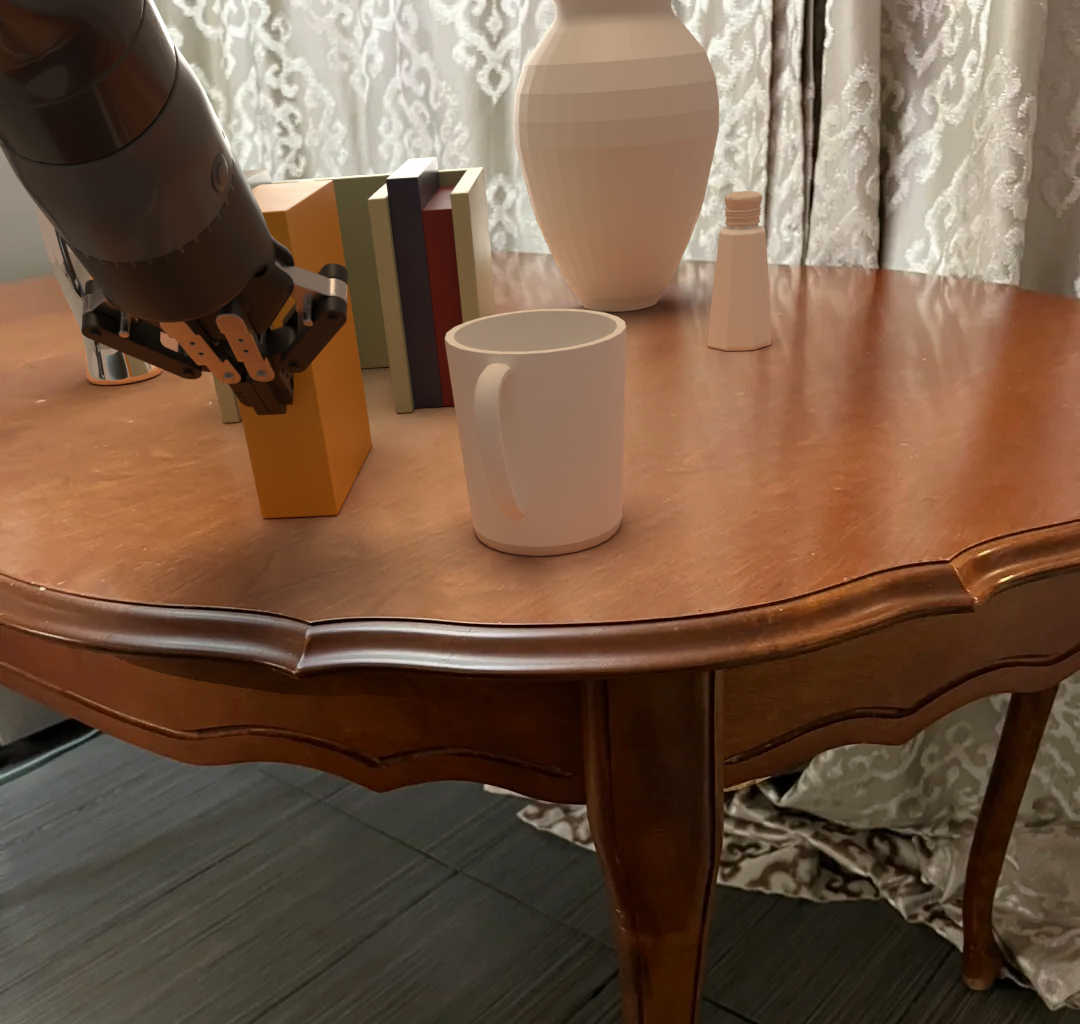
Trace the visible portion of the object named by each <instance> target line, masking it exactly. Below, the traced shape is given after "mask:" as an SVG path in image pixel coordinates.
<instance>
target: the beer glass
mask: <svg viewBox="0 0 1080 1024" xmlns="http://www.w3.org/2000/svg"><path fill="white" fill-rule="evenodd" d="M34 206H35V207H34V208H35V211H36V216H37V221H38V226H39V230H40V233H41V237H42V238H41V239H42V242H43V245H44V249H45V252H46V255H47V258H48V261H49V264H50V266H51V268H52V271H53V274H54V276H55V279H56V280H57V282H58V285H59V288H60V289H61V292H62V294H63V296H64V298H65V300H66V302H67V305H68V307H69V309H70V311H71V313H72V315H73V318H74V320H75V322H76V325H77V328H78V331H79V334H80V336H81V341H82V346H83V351H84V352H83V353H84V359H85V370H86V378H87V381H88V382H89V383H91V384H93V385H98V386H120V385H127V384H132V383H133V384H134V383H138V382H142V381H145V380H149V379H151V378H154V377H156V376H159V375H160V374H161V373H162V372H163V371H164V370H163V369H161V368H158V367H156V366H153V365H151V364H149V363H146V362H144V361H141V360H139V359H137V358H134V357H132V356H129V355H127V354H125V353H122V352H120V351H117V350H115V349H113V348H110V347H108V346H105V345H103V344H101V343H98V342H96V341H93V340H91V339H89V338H87V337H85V336H84V335H83V334H82V332H81V329H82V308H83V297H84V292H85V283H86V282H87V281H88V280H93V278H92V277H91V275H90V274H89V273H88V272H87V270H86V269H85V268H84V266H83V265H82V264H81V262H80V261H79V260H78V258H77V257H76V256H75V254H74V253H73V252H72V251H71V249H70V248H69V247H68V245H67V244H66V243H65V241H64V240H63V239H62V237H61V236H60V235H59V234H58V232H57V231H56V229H55V228H54V227H53V225H52V224H51V223H50V222H49V220H48V219H47V218H46V216H45V215H44V214H43V212H42V211H41V210H40V208H39V207H38V206H37V205H36V203H35V202H34Z"/></svg>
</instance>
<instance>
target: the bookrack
mask: <svg viewBox="0 0 1080 1024" xmlns="http://www.w3.org/2000/svg"><path fill="white" fill-rule="evenodd" d="M242 171H243V173H244V175H245V177H246V179H247V181H248V183H249V185H250V187H251V189H253V188H255V187H257V186H259V185H262V184H277V183H292V182H307V181H322V180H333V184H334V191H335V197H336V204H337V211H338V218H339V224H340V231H341V238H342V245H343V251H344V258H345V265H346V269H347V271H348V285H349V292H350V299H351V305H352V312H353V319H354V326H355V332H356V339H357V346H358V352H359V359H360V366H361V369H377V368H378V369H379V368H389V371H390V378H391V386H392V392H393V400H394V408H395V413H396V414H406V413H407V414H408V413H413V411H414V409H424V408H440V407H444V408H445V407H455V405H454V398H453V392H452V385H451V379H450V372H449V365H448V359H447V352H446V346H445V336H446V333H447V332H448V331H450V330H451V329H452V328H454V327H456V326H458V325H460V324H463V323H465V322H468V321H471V320H475V319H478V318H482V317H486V316H491V315H496V314H497V311H496V299H495V297H496V295H495V285H494V275H493V274H494V273H493V262H492V260H493V259H492V249H491V238H490V237H491V236H490V226H489V225H490V223H489V211H488V199H487V187H486V177H485V167H484V166H477V167H464V168H463V167H462V168H450V169H449V168H448V169H439V164H438V157H437V156H430V157H429V156H428V157H414V158H409V159H407V160H406V161H405V162H404V163H403V164H402V165H400V166H399V167H398V168H397V169H396V170H394V171H393V172H389V173H376V174H375V173H374V174H360V175H347V176H346V175H345V176H332V177H315V178H301V179H286V180H274V181H272V179H271V174H270V169H269V168H254V169H242ZM211 375H212V378H213V385H214V388H215V393H216V397H217V402H218V406H219V407H218V408H219V411H220V415H221V420H222V423H223V424H226V423H240V422H241V421H242V418H241V413H240V409H239V404H238V399H237V396H236V395H235V393H234V392H233V390H232V389H231V387H230V386H229V384H227V383H223V382H221V381H219V380H218V379H217V378H216V377H215V376H214V375H213V373H212V372H211Z"/></svg>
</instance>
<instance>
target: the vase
mask: <svg viewBox="0 0 1080 1024" xmlns="http://www.w3.org/2000/svg"><path fill="white" fill-rule="evenodd" d="M550 2H551V3H552V6H553V8H554V19H553V21H552V23H551V25H550V26H549V27H548V29H547V30H546V32H544V34H543V35H542V37H541V38H540V40H539V41H538V42H537V44H536V45H535V47H534V48H533V50H532V51H531V53H530V54H529V56H528V57H527V59H526V60H525V61H524V63H523V65H522V69H521V73H520V76H519V79H518V82H517V84H516V85H517V86H516V89H515V94H514V103H513V104H514V105H513V106H514V107H513V115H512V116H513V118H512V121H513V135H514V137H513V138H514V146H515V149H516V154H517V157H518V161H519V165H520V168H521V173H522V177H523V179H524V180H523V181H524V183H525V187H526V190H527V195H528V198H529V202H530V206H531V208H532V212H533V214H534V218H535V221H536V223H537V225H538V228H539V231H540V233H541V234H542V237H543V238H544V241H545V243H546V245H547V247H548V250H549V252H550V254H551V256H552V258H553V260H554V262H555V264H556V266H557V267H558V269H559V272H560V274H561V275H562V277H563V279H564V280H565V282H566V283H567V285H568V286H569V288H570V289H571V291H572V292H573V293H574V295H576V296H577V297H578V299H579V300H580V302H581V305H582V307H583V308H584V309H586V310H591V311H598V312H604V313H611V312H612V313H613V312H614V313H615V312H616V313H617V312H619V313H621V312H630V311H638V310H643V309H647V308H650V307H653V306H655V305H657V304H658V303H659V300H660V296H661V295H662V294H663V292H664V291H665V290H666V289H667V287H668V285H669V284H670V282H671V281H672V279H673V277H674V275H675V274H676V272H677V270H678V268H679V265H680V264H681V262H682V259H683V256H684V254H685V252H686V249H687V247H688V245H689V243H690V241H691V238H692V235H693V233H694V230H695V227H696V224H697V223H698V220H699V217H700V214H701V211H702V208H703V205H704V204H703V203H704V201H705V197H706V193H707V188H708V183H709V180H710V179H709V178H710V175H711V169H712V165H713V162H714V161H713V160H714V157H715V156H714V155H715V150H716V145H717V141H718V135H719V131H720V99H719V91H718V86H717V77H716V75H715V72H714V70H713V66H712V65H711V64H712V63H711V62H710V59H709V56H708V53H707V51H706V50H705V48H704V47H703V46H702V45H701V43H700V42H699V41H698V40H697V39H696V37H695V36H694V34H693V33H691V31H690V29H688V28H687V26H686V25H685V24H684V22H682V21H681V19H679V18H678V16H677V15H676V14H675V12H674V10H673V7H672V0H550Z"/></svg>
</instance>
